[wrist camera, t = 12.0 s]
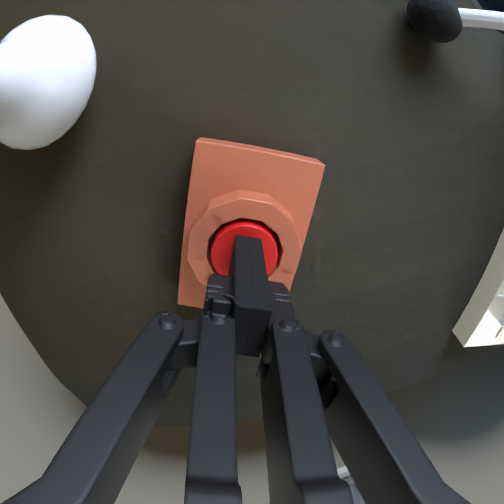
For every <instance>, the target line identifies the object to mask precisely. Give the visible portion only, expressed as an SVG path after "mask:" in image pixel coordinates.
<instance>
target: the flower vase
mask: <svg viewBox="0 0 504 504" xmlns="http://www.w3.org/2000/svg"><path fill="white" fill-rule="evenodd" d="M95 75H96V51H95V48H94V45H93V42H92V38H91V37H90V35H89V34H88V32H87V31H86V30H85V28H84V27H83V25H82V24H80V23H78V22H77V21H75V20H74V19H72V18H70V17H66V16H60V15H46V16H41V17H36V18H32V19H30V20H28V21H26V22H24V23H23V24H21V25H19V26H17V27H16V28H14V29H13V30H12V31H11V32H9V33H8V34H7V35H6V36H5V37H4V38H3V39H2V40H1V41H0V143H2V144H4V145H6V146H8V147H10V148H13V149H21V150H35V149H38V148H41V147H45V146H48V145H50V144H51V143H53V142H55V141H56V140H58V139H59V138H61V137H62V136H63V135H65V133H66V132H67V131H68V130H69V129H70V128H71V127H72V126H73V125H74V124H75V123H76V122H77V120H78V118H79V117H80V115H81V114H82V112H83V110H84V109H85V107H86V105H87V103H88V100H89V98H90V95H91V92H92V90H93V86H94V81H95Z"/></svg>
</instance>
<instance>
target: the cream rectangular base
mask: <svg viewBox="0 0 504 504" xmlns="http://www.w3.org/2000/svg"><path fill="white" fill-rule="evenodd" d="M503 317H504V228H503V230H502V233H501V235H500V238H499V240H498V243H497V245H496V247H495V250H494V252H493V254H492V257H491V259H490V261H489V263H488V265H487V267H486V269H485V272H484V274H483V276H482V278H481V280H480V282H479V284H478V286H477V288H476V289H475V291H474V293H473V295H472V297H471V299H470V301H469V302H468V304H467V306H466V308H465V310H464V311H463V313H462V315H461V316H460V318H459V320H458V322H457V323H456V325H455V326H454V328H453V330H452V332H453V333H454V334H455V336H456V337H457V338H458V340H459V341H460V343H461V344H462V346H463V347H474V346H487V345H498V344H504V328H503V327H502V325H501V324H500V322H501V320H502V319H503Z"/></svg>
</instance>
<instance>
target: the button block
mask: <svg viewBox="0 0 504 504" xmlns="http://www.w3.org/2000/svg"><path fill="white" fill-rule="evenodd" d="M324 168H325V165H324V164H323V163H321V162H320V161H319V160H317V159H315V158H311V157H306V156H302V155H298V154H293V153H288V152H284V151H279V150H274V149H269V148H264V147H259V146H253V145H248V144H242V143H236V142H230V141H224V140H217V139H211V138H204V137H200V138H199V139H198V140H196V142H195V148H194V155H193V161H192V168H191V175H190V183H189V190H188V198H187V206H186V215H185V224H184V233H183V243H182V253H181V264H180V276H179V289H178V304H179V305H185V306H191V307H198V308H204V301H205V295H206V289H207V282H208V278H209V277H210V276H211V275H212V274H219V273H218V272H217V271H216V269H215V268H214V266H213V263H212V260H211V249H212V243H213V238H214V234H215V232H216V230H217V229H218V228H219V227H220V225H221V224H224V223H227V222H230V221H233V220H236V219H239V218H246V219H252V220H258V221H262V222H263V223H265V224H266V225H267V226H268V227H269V228H271V230H272V232H273V234H274V238H275V242H276V246H277V251H278V258H277V262H276V265H275V267H274V268H273V270H272V271H271V272H270V273H269V275H267V277H268V281H274V282H282V283H283V284H284V285H285V286H286V287H287V288H288V291H290V288H291V284H292V281H293V278H294V275H295V273H296V270H297V266H298V263H299V260H300V256H301V253H302V248H303V245H304V241H305V238H306V234H307V231H308V227H309V224H310V220H311V217H312V213H313V209H314V206H315V202H316V198H317V195H318V191H319V187H320V184H321V180H322V176H323V172H324Z"/></svg>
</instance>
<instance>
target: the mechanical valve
mask: <svg viewBox="0 0 504 504" xmlns="http://www.w3.org/2000/svg"><path fill="white" fill-rule="evenodd" d="M407 15H408V19H409V21H410V23H411V25H412V26H413V28H414V29H415V30H416V31H417V32H418V33H419V34H420V35H421V36H422V37H424V38H426V39H428V40H430V41H433V42H437V43H446V42H450V41H453V40H454V39H455V38H457V37H458V35H459V34H460V32H461V30H462V26H466V27H479V28H489V29H497V30H504V13H503V12H496V11H487V10H477V9H462V8H457V7H456V5H455V4H454V3H453V2H452V1H451V0H409V3H408V6H407Z"/></svg>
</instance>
